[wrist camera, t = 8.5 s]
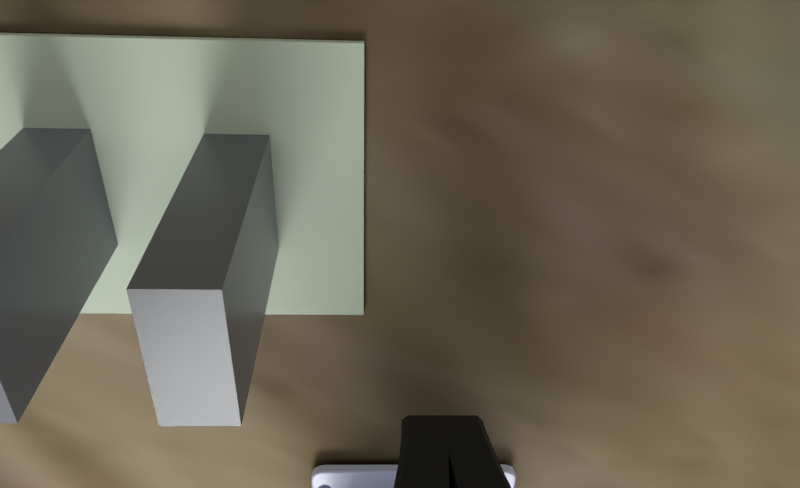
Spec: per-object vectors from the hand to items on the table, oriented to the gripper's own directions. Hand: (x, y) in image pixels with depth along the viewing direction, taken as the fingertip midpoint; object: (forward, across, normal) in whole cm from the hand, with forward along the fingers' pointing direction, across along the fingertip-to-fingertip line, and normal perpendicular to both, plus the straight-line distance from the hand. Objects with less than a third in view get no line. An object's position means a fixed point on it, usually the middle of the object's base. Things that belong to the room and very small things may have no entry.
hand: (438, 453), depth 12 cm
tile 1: (+9, +5, 0) cm, 11 cm away
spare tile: (+9, +10, 0) cm, 14 cm away
